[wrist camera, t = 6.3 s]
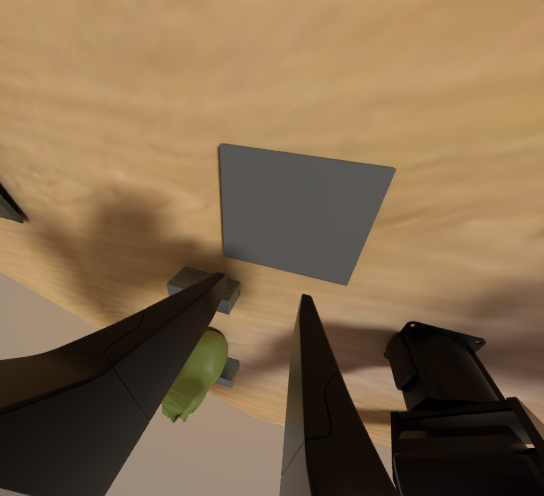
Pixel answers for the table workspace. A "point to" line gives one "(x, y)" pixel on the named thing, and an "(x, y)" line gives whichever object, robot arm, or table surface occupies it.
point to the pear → (196, 376)
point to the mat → (299, 210)
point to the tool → (8, 211)
